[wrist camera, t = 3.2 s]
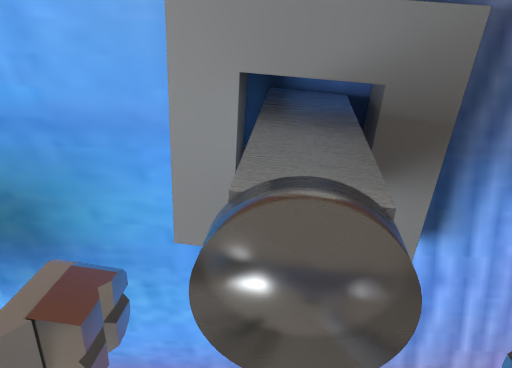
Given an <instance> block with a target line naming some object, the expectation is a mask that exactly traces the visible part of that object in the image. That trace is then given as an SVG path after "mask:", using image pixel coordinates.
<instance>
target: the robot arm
mask: <svg viewBox="0 0 512 368" xmlns="http://www.w3.org/2000/svg"><path fill="white" fill-rule="evenodd" d="M127 285H128V282H127V274H126V272H125V271H124V270H123V269H118V268H112V267H105V266H99V265H93V264H87V263H81V262H77V263H76V262H71V261H65V260H59V259H54V260H51V261H48V262H47V263H46V264H45V265H44V266H43V267H42V268H41V269H40V270H39V271H38V272H37V273H36V274H35V275H34V276H33V277H32V278H31V279H30V280H29V281H28V282H27V283H26V284H25V285H24V286H23V287H22V288H21V289H20V290H19V292H18V293H17V294H16V295H15V296H14V297H13V298H12V299H11V300H10V301H9V302H8V303H7V304H6V305H5V306H4V307H3V308H2V309H1V310H0V368H107V367H108V366H109V360H108V353H109V352H110V351H112V350H113V349H115V348H116V347H118V346H119V345H120V343H121V341H122V339H123V337H124V335H125V332H126V328H127V325H128V322H129V315H130V302H129V299H128V298H127V297H126V296H125V295H124V294H123V292H124V290H125V288H126V287H127ZM502 368H512V352H510V353H508V354H507V356H506V358H505V360H504V362H503V365H502Z"/></svg>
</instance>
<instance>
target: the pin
mask: <svg viewBox="0 0 512 368" xmlns="http://www.w3.org/2000/svg"><path fill="white" fill-rule="evenodd" d="M396 209H397V208H396V206H395V204H394V202H393V199H392V197H391V195H390V193H389V190H388V188H387V186H386V183H385V181H384V179H383V177H382V174H381V172H380V170H379V168H378V165H377V163H376V161H375V159H374V156H373V154H372V152H371V149H370V147H369V145H368V143H367V140H366V138H365V136H364V134H363V131H362V129H361V127H360V125H359V122H358V120H357V118H356V115H355V113H354V111H353V109H352V106H351V104H350V102H349V100H348V97H347V95H346V94H335V93H324V92H313V91H302V90H291V89H279V88H270V89H269V91H268V94H267V96H266V99H265V101H264V104H263V106H262V108H261V111H260V113H259V116H258V118H257V121H256V123H255V126H254V128H253V131H252V133H251V136H250V138H249V141H248V143H247V146H246V148H245V151H244V153H243V156H242V158H241V161H240V163H239V166H238V168H237V171H236V173H235V176H234V178H233V181H232V183H231V186H230V188H229V197H228V203H227V204H226V205H225V206H224V207H223V208H222V210H221V211H220V212H219V213H218V214H217V216H216V218H215V219H214V221H213V222H212V224H211V227H210V229H209V231H208V234H207V236H206V238H205V241H204V243H203V246H202V248H201V250H200V253H199V255H198V258H197V260H196V262H195V265H194V267H193V270H192V273H191V277H190V282H189V299H190V306H191V309H192V313H193V316H194V318H195V321H196V323H197V325H198V327H199V328H200V330H201V332H202V333H203V335H204V336H205V337H206V338H207V340H208V341H209V342H210V343H211V344H212V345H213V346H214V347H215V348H216V349H217V350H218V351H219V352H220V353H221V354H222V355H224V356H225V357H226V358H228V359H229V360H230V361H232V362H234V363H235V364H237V365H238V366H240V367H242V368H379V367H381V366H382V365H384V364H385V363H387V362H389V361H390V360H391V359H392V358H393V357H395V356H396V355H397V354H398V353H399V352H400V351H401V350H402V349H403V348H404V347H405V345H406V344H407V343H408V341H409V340H410V338H411V337H412V335H413V334H414V332H415V329H416V327H417V325H418V322H419V318H420V314H421V307H422V295H421V287H420V284H419V280H418V277H417V274H416V271H415V269H414V267H413V264H412V262H411V259H410V257H409V254H408V252H407V249H406V247H405V245H404V242H403V240H402V237H401V235H400V233H399V231H398V229H397V227H396V225H395V223H394V222H393V221H394V217H395V213H396Z"/></svg>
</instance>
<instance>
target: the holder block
mask: <svg viewBox="0 0 512 368" xmlns="http://www.w3.org/2000/svg"><path fill="white" fill-rule="evenodd" d="M491 7H492V6H484V5H469V4H455V3H441V2H427V1H413V0H165V18H166V44H167V69H168V94H169V119H170V145H171V170H172V195H173V220H174V243H181V244H189V245H197V246H203V243H204V241H205V238H206V236H207V234H208V231H209V229H210V227H211V224H212V222H213V221H214V219H215V218H216V216H217V214H218V213H219V212H220V211H221V210H222V208H223V207H224V206H225V205H226V204H227V203H228V197H229V188H230V186H231V183H232V181H233V178H234V176H235V173H236V171H237V168H238V166H239V163H240V161H241V158H242V156H243V153H244V139H245V120H246V102H247V83H248V73H256V74H267V75H279V76H290V77H302V78H313V79H324V80H336V81H347V82H359V83H370V84H372V88H371V93H370V98H369V103H368V108H367V113H366V118H365V123H364V128H363V134H364V136H365V138H366V140H367V143H368V145H369V147H370V149H371V152H372V154H373V156H374V159H375V161H376V163H377V165H378V168H379V170H380V172H381V174H382V177H383V179H384V181H385V183H386V186H387V188H388V190H389V193H390V195H391V197H392V199H393V202H394V204H395V206H396V208H397V209H396V213H395V217H394V221H393V222H394V223H395V225H396V227H397V229H398V231H399V233H400V235H401V237H402V240H403V242H404V245H405V247H406V249H407V252H408V254H409V257H410V259H411V262H412V260H413V257H414V254H415V251H416V247H417V244H418V241H419V238H420V235H421V231H422V228H423V225H424V222H425V218H426V215H427V212H428V209H429V206H430V202H431V199H432V196H433V193H434V190H435V186H436V183H437V180H438V177H439V174H440V170H441V167H442V164H443V161H444V157H445V154H446V151H447V148H448V145H449V141H450V138H451V135H452V132H453V129H454V125H455V122H456V119H457V116H458V113H459V109H460V106H461V103H462V100H463V96H464V93H465V90H466V87H467V84H468V80H469V77H470V74H471V71H472V68H473V64H474V61H475V58H476V55H477V52H478V48H479V45H480V42H481V39H482V36H483V32H484V29H485V26H486V23H487V19H488V16H489V13H490V10H491Z"/></svg>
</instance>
